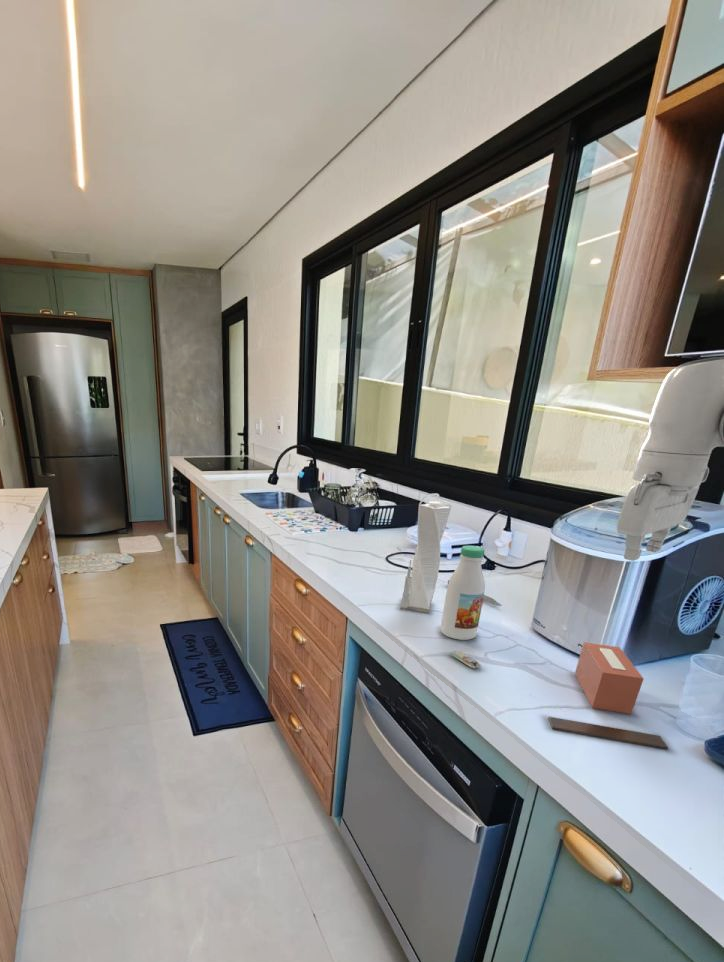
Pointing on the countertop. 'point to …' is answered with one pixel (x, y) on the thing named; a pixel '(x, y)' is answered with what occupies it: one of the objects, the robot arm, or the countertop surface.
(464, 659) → the granola bar
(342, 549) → the countertop surface
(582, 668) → the tissue box
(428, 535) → the skyscraper
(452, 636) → the milk bottle
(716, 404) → the robot arm
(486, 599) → the kitchen knife
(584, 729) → the walnut ruler
